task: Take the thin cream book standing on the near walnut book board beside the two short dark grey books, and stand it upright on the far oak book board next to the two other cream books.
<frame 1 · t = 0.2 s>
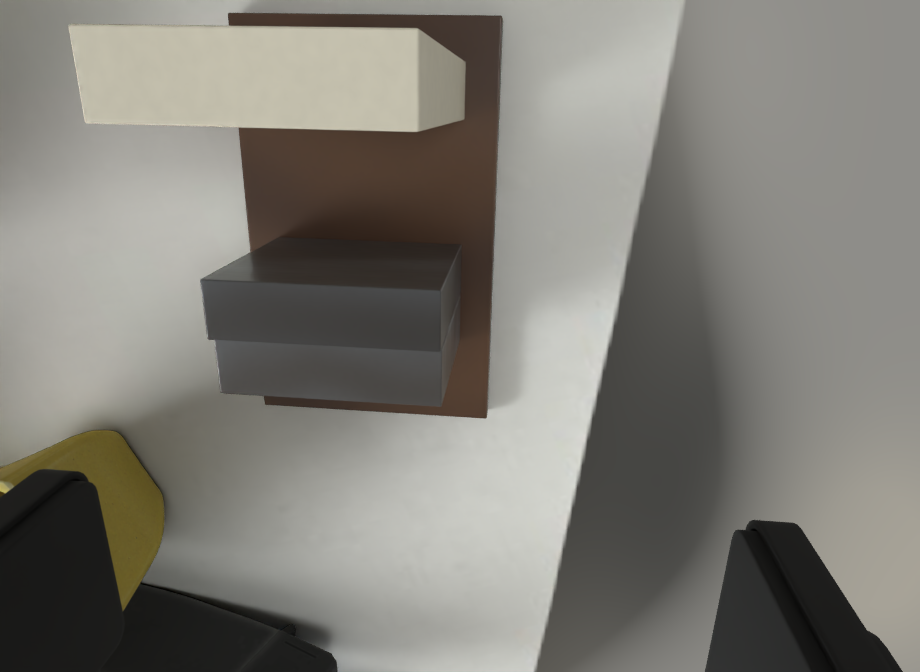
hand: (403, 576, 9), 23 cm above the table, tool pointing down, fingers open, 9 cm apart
cream book: (364, 89, 28), point 1 cm above the table, touching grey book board
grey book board: (373, 230, 31), on the table
flower pot: (111, 475, 38), on the table
magazine: (120, 593, 42), on the table
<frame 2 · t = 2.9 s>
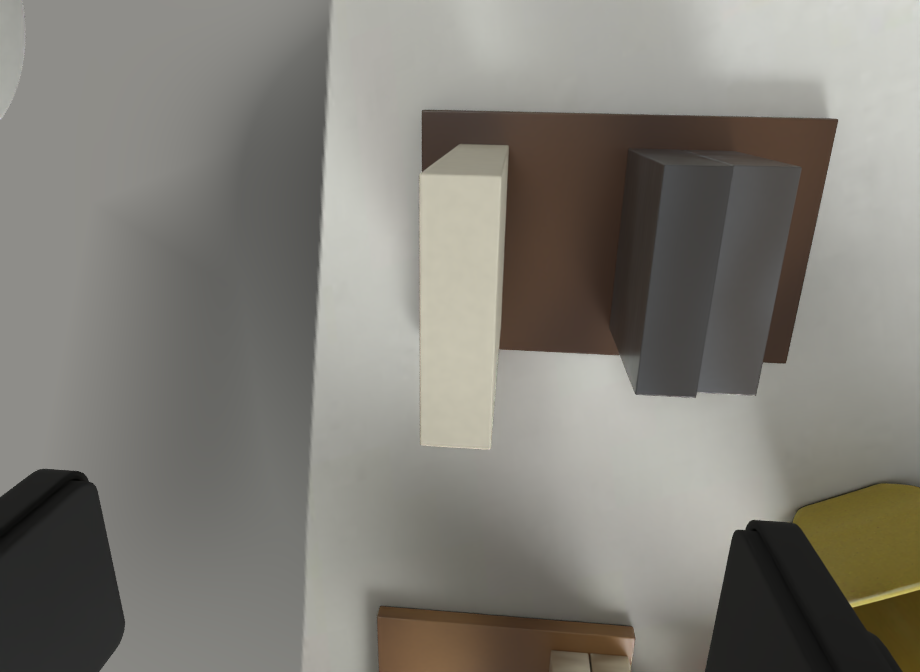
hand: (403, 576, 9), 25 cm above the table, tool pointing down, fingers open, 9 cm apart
cream book: (480, 237, 32), point 1 cm above the table, touching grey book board
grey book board: (609, 238, 32), on the table
flower pot: (848, 526, 37), on the table
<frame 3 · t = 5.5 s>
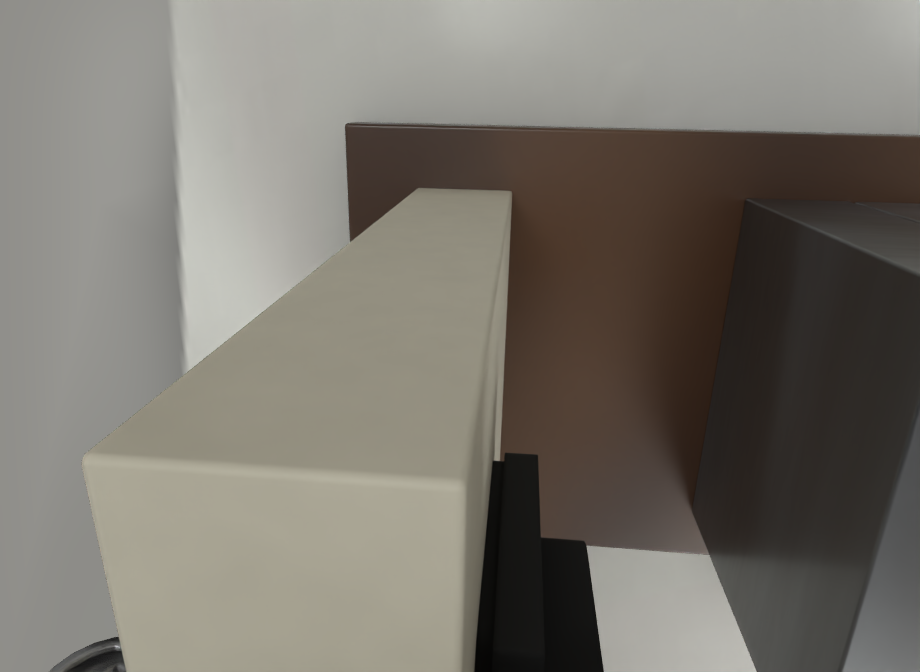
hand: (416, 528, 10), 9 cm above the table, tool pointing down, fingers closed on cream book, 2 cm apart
cream book: (460, 355, 17), point 1 cm above the table, touching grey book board, gripper
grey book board: (694, 354, 18), on the table
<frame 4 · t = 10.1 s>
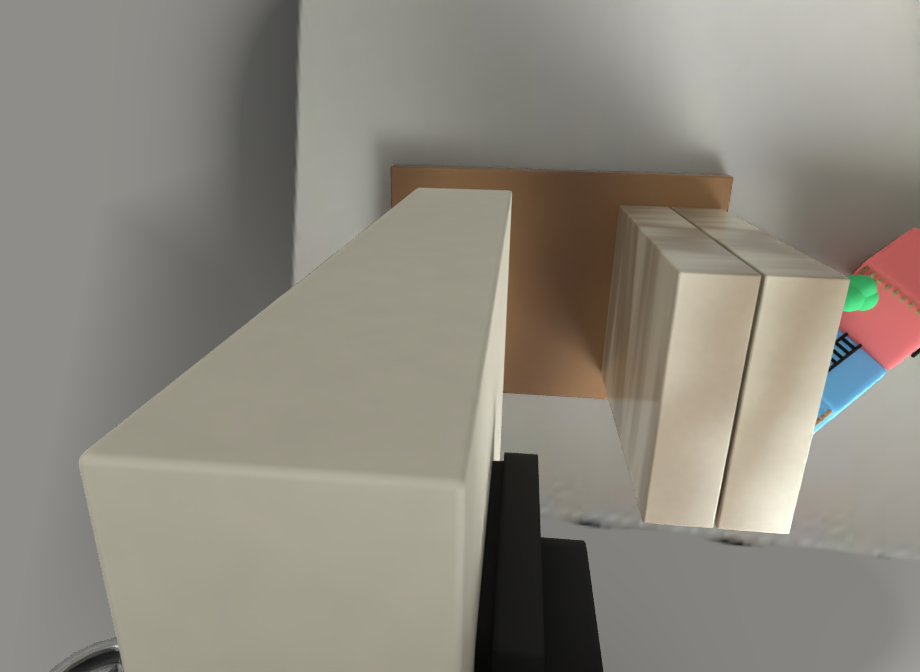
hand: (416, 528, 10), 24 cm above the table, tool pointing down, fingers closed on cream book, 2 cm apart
cream book: (460, 355, 17), point 17 cm above the table, touching gripper
building blocks: (870, 327, 33), on the table
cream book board: (548, 285, 34), on the table
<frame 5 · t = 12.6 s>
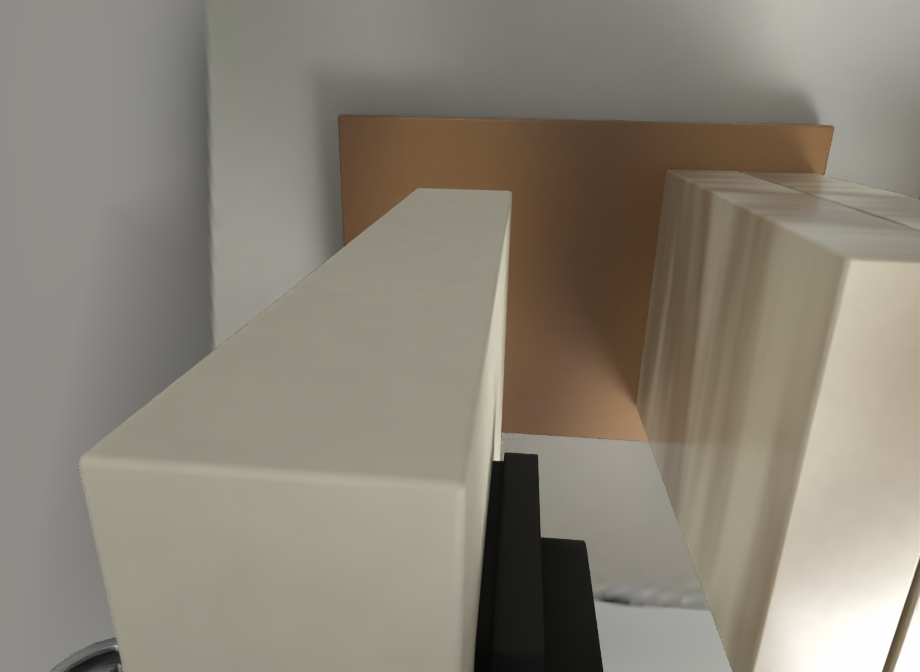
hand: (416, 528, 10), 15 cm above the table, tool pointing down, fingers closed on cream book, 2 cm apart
cream book: (460, 356, 17), point 8 cm above the table, touching gripper
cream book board: (563, 285, 24), on the table
when the fingers open (9 cm above the table, at t = 14.6 s): cream book stays where it is, resting on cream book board.
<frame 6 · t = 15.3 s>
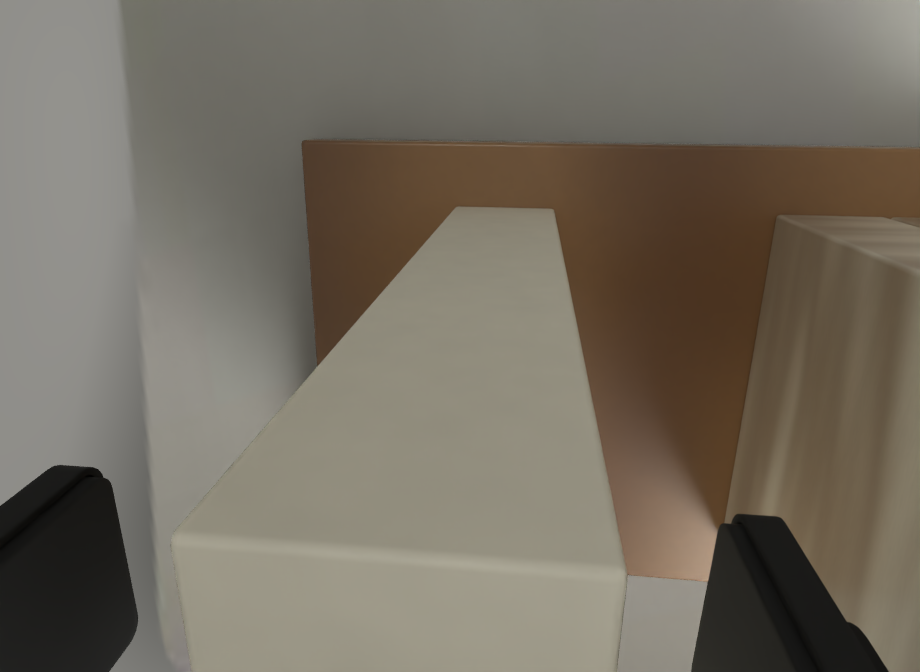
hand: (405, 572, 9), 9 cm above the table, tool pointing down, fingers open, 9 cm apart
cream book: (499, 378, 17), point 1 cm above the table, touching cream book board
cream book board: (618, 370, 18), on the table
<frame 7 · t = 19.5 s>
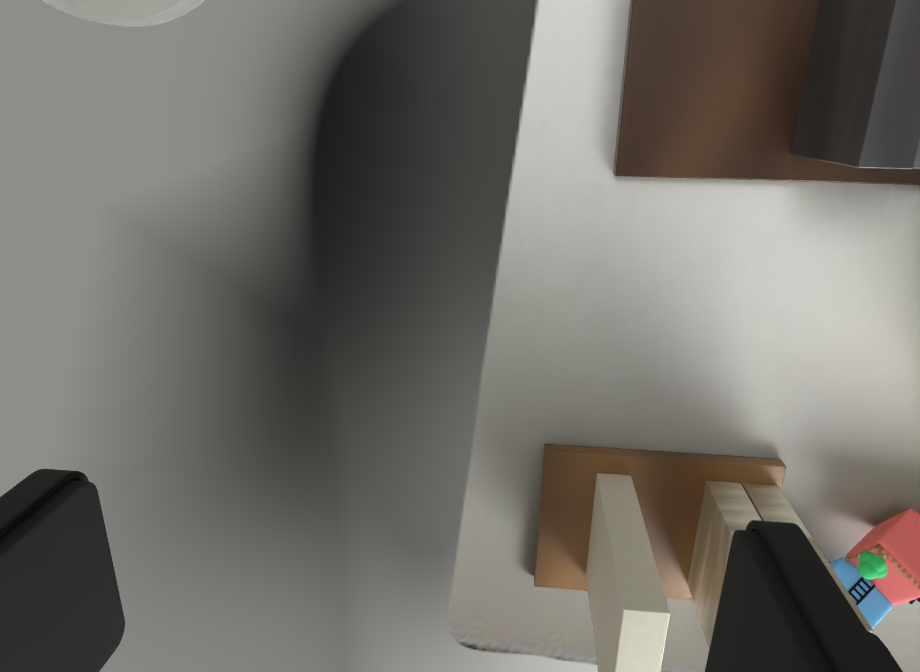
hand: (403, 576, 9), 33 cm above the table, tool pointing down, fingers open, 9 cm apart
cream book: (607, 526, 47), point 1 cm above the table, touching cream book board
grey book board: (793, 70, 36), on the table
building blocks: (880, 554, 47), on the table
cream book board: (650, 521, 47), on the table
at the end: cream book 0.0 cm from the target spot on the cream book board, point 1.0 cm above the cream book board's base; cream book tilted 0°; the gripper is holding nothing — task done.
